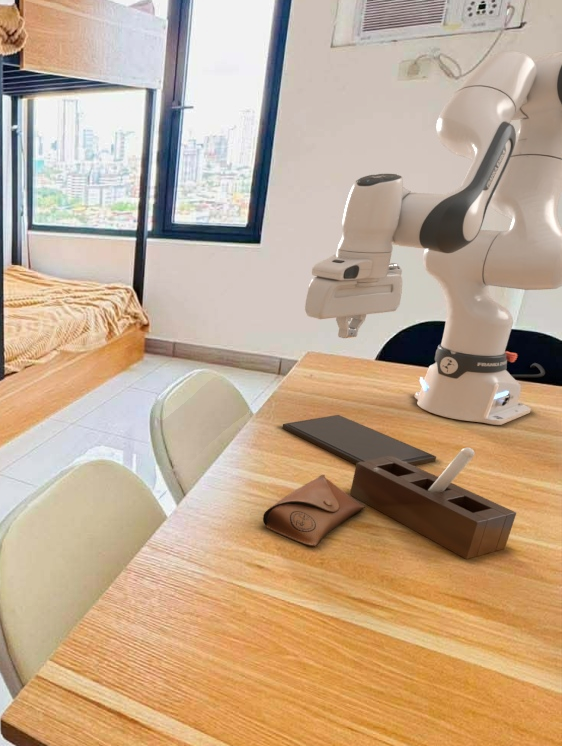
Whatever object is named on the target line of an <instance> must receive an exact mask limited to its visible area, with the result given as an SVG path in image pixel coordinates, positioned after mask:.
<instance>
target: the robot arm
mask: <svg viewBox="0 0 562 746" xmlns="http://www.w3.org/2000/svg"><path fill="white" fill-rule="evenodd" d="M518 120H519V129H518V130H517V132H516V129H515V126H514V124H511V122H512V121H518ZM435 123H436V124H435V129H436V137H437V139H438V140H439V142H440V143H441V144H442V146H443V147H444V148H445V149H446V150H448V151H449V152H451V153H452V154H454V155H456V156H458V157H462V158H466V159H468V160H471V164H470V166H469V168H468V170H467V172H466V174H465V176H464V179H463V180H462V182H461V185H460V186H459V187H458V188H457V189H455V190H452V191H450V192H445V193H428V192H427V193H425V192H423V193H422V192H411V190H408V189H407V188H405V186H404V178H403V176H402V175H399V174H397V173H378V174H369V175H365V176H362V177H360V178H358V179H357V180H355V181H354V182H353V184H352V186H351V189H350V191H349V194H348V196H347V200H346V204H345V207H344V212H343V216H342V221H341V231H342V232H341V233H342V234H341V238H340V241H339V243H338V245H337V247H336V248H337V249H336V253H335V254H333V255H331V256H329V257H327V258H325V259H323V260H322V261H319V262H317V263H315V264H313V266H312V268H311V275H312V276H315V277H314V278H312V279H311V281H310V283H309V284H308V289H307V294H306V298H305V304H304V311H305V314H306V315H307V317H310V318H313V319H317V320H327V319H335V322H336V324H337V326H338V333H337V337H338V338H341V339H350V338H356V337H358V333H359V329H360V328H361V326H362V325H363V324H364V323H365V321H366V319H367V315H374V314H381V313H382V314H383V313H390V312H391V313H392V312H396V311H397V310H398V308H399V307H400V304H401V299H402V291H403V277H402V273H403V269H402V268H401V267H400V266H399V264H398V263H395V262H391V260H392V254H393V246H399V247H406V248H415V249H423V252H422V253H423V254H422V263H423V267H424V269H425V271H426V272H427V274H428V275H429V276H431V277H432V278H433V279H434V280H435V281H436V283H437V284H438V285H439V287H440V289H441V291H442V294H443V296H444V299H445V303H446V318H445V323H444V329H443V333H442V339H441V342H440V343H439V344H438V346H437V349H436V350H435V355H434V361H435V362H434V363H433V364H430V365H429V366H428V369H427V371H426V374H425V376H424V378H423V376H420V377H419V383H420V385H421V387H420V391H416V392H415V393H414V396H413V397H414V398H415V400H417V402H416V404H417V406H418V407H419V408H421V409H422V410H424V411H426V412H429V413H431V414H433V415H437V416H440V417H444V418H449V419H452V420H457V421H465V422H477V423H484V424H488V425H494V426H502V425H504V424H506V423H509V422H511V421H514V420H516V419H519V418H521V417H523V416H525V415H528V414H530V413H531V410H532V409H531V407H529V406H528V405H526V404H524V403H522V402H520V398H521V394H522V385H521V384H520V383H519V382H518V381H517V380H516V379H537V378H542V377H544V376H545V374H546V371H545V369H544V367H543V366H542V365H541V364H539V363H536V362H534V363H532V364H531V365H530V368H532V369H534V368H537V369H538V370H539V371H540V373H538V374H537V373H536V374H510V372H509V371H508V370H507V368H508V367H507V366H508V362H510V363H515V362H516V360H517V358H518V353H516V352H510V351H508V350H506V349H507V347H508V343H509V339H510V335H511V332H512V329H513V325H514V319H513V315H512V313H511V312H510V310H508V309H507V308H506V307H505V306H503V305H502V304H500V303H499V302H497V301H495V300H494V298H492V296H491V294H490V291H489V286H491V287H498V288H499V287H501V288H509V289H514V290H515V289H516V290H523V291H536V290H537V291H540V290H542V291H543V290H556V289H558V288H561V287H562V226H561V224H560V221H559V217H558V206H559V202H560V198H561V195H562V50H560V51H559V50H558V51H554V52H549V53H545V54H544V53H543V54H540V55H539V54H538V55H536V56H534V57H531V56H530V55H528V54H527V53H525V52H522V51H519V50H504V51H500V52H497V53H495V54H493V55H490V56H489V57H487V58H486V59H485V60H484V61H483V62H481V64H479V65H478V66H477V67H476V68H475V69H474V70H473V71H472V72H471V73H470V74H469V75H468V76H467V77H466V78H465V79H464V81H463V82H462V83H461V84H460V85H459V87H457V89H456V91H455V92H454V93H453V94H452V96H451V97H450V98H449V100H448V101H447V102H446V104H445V105H444V106H443V108H442V109H441V111H440V112H439V115H438V117H437V120H436V122H435ZM489 206H490V207H491V208H492V209H493V210H494V211H495V212H497V213H498V214H500V215H502V216H503V217H506V218H507V219H509V220H511V223H510V226H509V229H508V230H490V229H489V230H488V229H482V226H483V223H484V221H485V216H486V213H487V210H488V208H489Z"/></svg>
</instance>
